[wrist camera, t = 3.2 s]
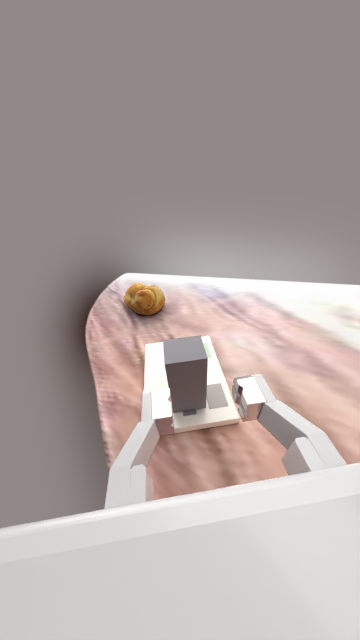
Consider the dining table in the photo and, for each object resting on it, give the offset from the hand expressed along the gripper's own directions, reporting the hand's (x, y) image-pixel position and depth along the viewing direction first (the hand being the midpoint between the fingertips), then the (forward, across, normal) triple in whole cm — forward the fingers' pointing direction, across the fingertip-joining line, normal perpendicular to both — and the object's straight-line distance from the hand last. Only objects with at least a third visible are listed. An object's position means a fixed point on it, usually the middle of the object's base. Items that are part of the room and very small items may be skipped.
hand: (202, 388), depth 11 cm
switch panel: (+15, 0, +20) cm, 25 cm away
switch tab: (+10, 0, +18) cm, 21 cm away
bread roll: (+42, +8, +20) cm, 47 cm away
